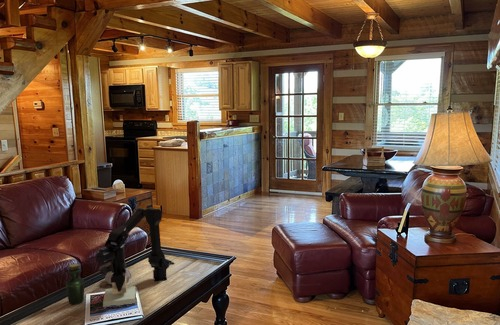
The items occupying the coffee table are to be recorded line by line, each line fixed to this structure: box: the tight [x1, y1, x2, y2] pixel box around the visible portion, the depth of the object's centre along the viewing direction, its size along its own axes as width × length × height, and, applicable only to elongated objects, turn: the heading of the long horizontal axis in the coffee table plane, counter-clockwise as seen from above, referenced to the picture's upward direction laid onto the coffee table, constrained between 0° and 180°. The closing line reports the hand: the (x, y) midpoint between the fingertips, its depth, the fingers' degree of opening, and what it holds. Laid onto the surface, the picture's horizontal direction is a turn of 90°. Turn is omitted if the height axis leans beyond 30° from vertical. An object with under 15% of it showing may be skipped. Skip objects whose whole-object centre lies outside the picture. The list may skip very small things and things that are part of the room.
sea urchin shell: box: [104, 267, 132, 286], centre depth 208 cm, size 13×14×8 cm
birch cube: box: [111, 276, 128, 294], centre depth 187 cm, size 6×6×6 cm
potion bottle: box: [65, 263, 85, 305], centre depth 185 cm, size 8×8×18 cm
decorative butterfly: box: [165, 255, 175, 264], centre depth 231 cm, size 10×6×10 cm
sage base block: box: [102, 285, 136, 307], centre depth 187 cm, size 14×14×3 cm
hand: (119, 288), depth 187 cm, fingers closed on birch cube, 6 cm apart
